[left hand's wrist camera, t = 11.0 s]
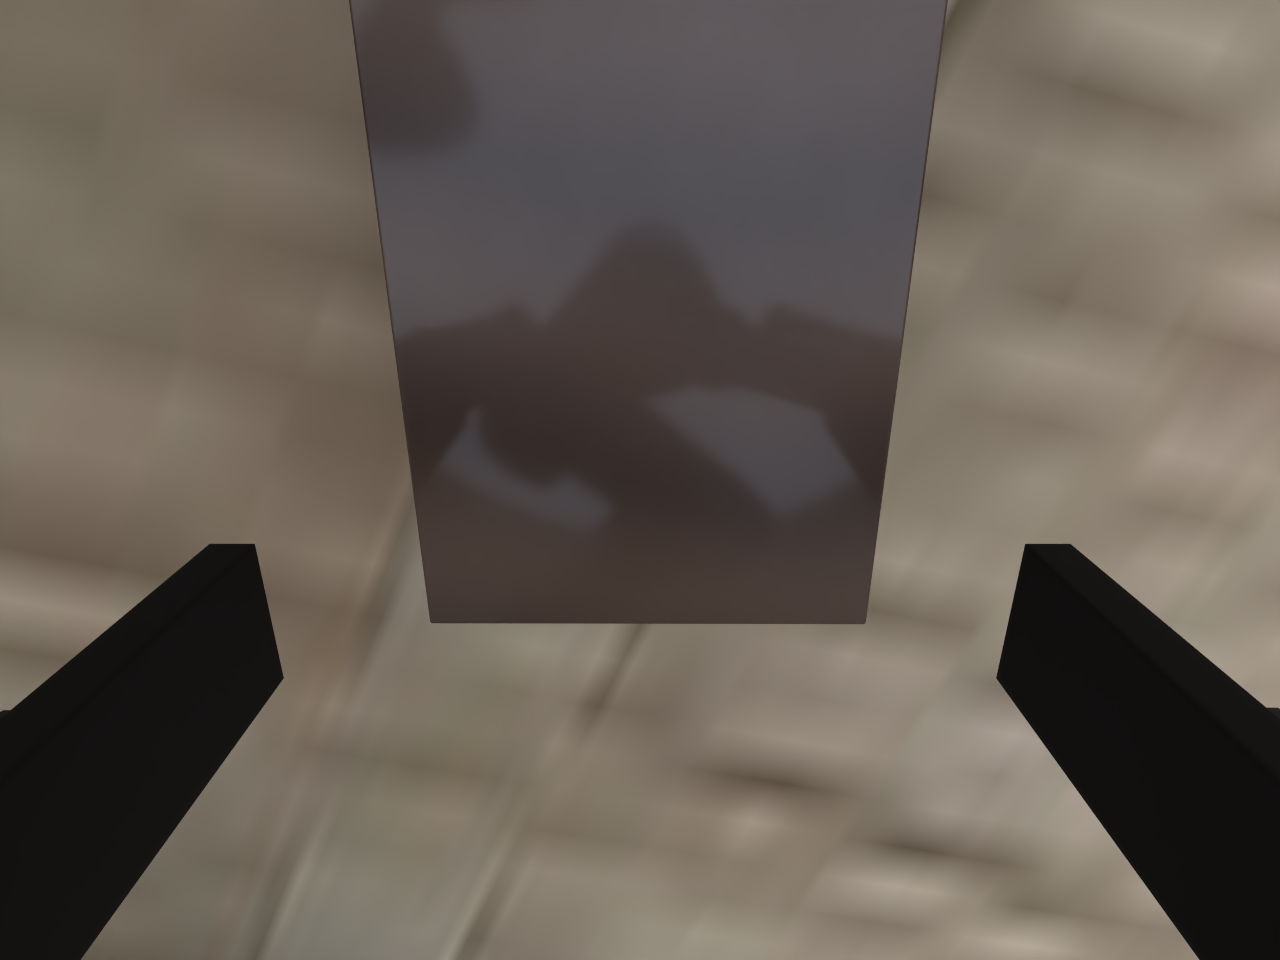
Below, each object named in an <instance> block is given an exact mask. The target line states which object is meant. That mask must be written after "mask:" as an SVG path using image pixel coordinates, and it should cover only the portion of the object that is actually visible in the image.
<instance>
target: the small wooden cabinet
mask: <svg viewBox="0 0 1280 960" xmlns="http://www.w3.org/2000/svg"><path fill="white" fill-rule="evenodd" d="M947 2H948V0H349V4H350V11H351V19H352V27H353V34H354V42H355V50H356V57H357V65H358V72H359V80H360V88H361V95H362V103H363V111H364V118H365V126H366V134H367V141H368V149H369V157H370V164H371V172H372V180H373V187H374V195H375V203H376V210H377V218H378V225H379V233H380V241H381V248H382V256H383V264H384V271H385V279H386V287H387V294H388V302H389V310H390V317H391V325H392V333H393V340H394V348H395V355H396V363H397V371H398V378H399V386H400V394H401V401H402V409H403V417H404V424H405V432H406V440H407V447H408V455H409V463H410V470H411V478H412V485H413V493H414V501H415V508H416V516H417V524H418V531H419V539H420V547H421V554H422V562H423V570H424V577H425V585H426V593H427V600H428V608H429V615H430V622H431V623H636V624H865V622H866V615H867V608H868V600H869V592H870V585H871V577H872V570H873V562H874V555H875V547H876V539H877V532H878V524H879V517H880V509H881V502H882V494H883V487H884V479H885V471H886V464H887V456H888V449H889V441H890V434H891V426H892V418H893V411H894V403H895V396H896V388H897V381H898V373H899V365H900V358H901V350H902V343H903V335H904V328H905V320H906V312H907V305H908V297H909V290H910V282H911V275H912V267H913V259H914V252H915V244H916V237H917V229H918V222H919V214H920V206H921V199H922V191H923V184H924V176H925V169H926V161H927V153H928V146H929V138H930V131H931V123H932V116H933V108H934V100H935V93H936V85H937V78H938V70H939V63H940V55H941V48H942V40H943V32H944V25H945V17H946V10H947Z"/></svg>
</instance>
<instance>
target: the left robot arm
mask: <svg viewBox="0 0 1280 960" xmlns="http://www.w3.org/2000/svg"><path fill="white" fill-rule="evenodd" d="M283 678H284V677H283V673H282V668H281V663H280V659H279V654H278V650H277V645H276V640H275V636H274V631H273V626H272V622H271V617H270V613H269V608H268V603H267V599H266V594H265V589H264V585H263V580H262V576H261V571H260V566H259V562H258V557H257V552H256V548H255V544H209V545H208V546H207V547H205V548H204V549H203V550H202V551H201V552H199V553H198V554H197V555H196V556H195V557H193V558H192V559H191V560H190V561H189V562H188V563H186V564H185V565H184V566H183V567H182V568H180V569H179V570H178V571H177V572H176V573H174V574H173V575H172V576H171V577H170V578H168V579H167V580H166V581H165V582H164V583H162V584H161V585H160V586H159V587H158V588H156V589H155V590H154V591H153V592H152V593H150V594H149V595H148V596H147V597H146V598H144V599H143V600H142V601H141V602H140V603H138V604H137V605H136V606H135V607H134V608H132V609H131V610H130V611H129V612H128V613H127V614H125V615H124V616H123V617H122V618H121V619H119V620H118V621H117V622H116V623H115V624H113V625H112V626H111V627H110V628H109V629H107V630H106V631H105V632H104V633H103V634H101V635H100V636H99V637H98V638H97V639H95V640H94V641H93V642H92V643H91V644H89V645H88V646H87V647H86V648H85V649H83V650H82V651H81V652H80V653H79V654H77V655H76V656H75V657H74V658H73V659H71V660H70V661H69V662H68V663H67V664H66V665H64V666H63V667H62V668H61V669H60V670H58V671H57V672H56V673H55V674H54V675H52V676H51V677H50V678H49V679H48V680H46V681H45V682H44V683H43V684H42V685H40V686H39V687H38V688H37V689H36V690H34V691H33V692H32V693H31V694H30V695H28V696H27V697H26V698H25V699H24V700H22V701H21V702H20V703H19V704H18V705H16V706H15V707H14V708H13V709H12V710H3V711H1V712H0V960H81V958H82V957H83V956H84V954H85V953H86V951H87V950H88V949H89V947H90V946H91V944H92V943H93V942H94V940H95V939H96V938H97V936H98V935H99V933H100V932H101V931H102V929H103V928H104V926H105V925H106V924H107V922H108V921H109V920H110V918H111V917H112V915H113V914H114V913H115V911H116V910H117V908H118V907H119V906H120V904H121V903H122V902H123V900H124V899H125V897H126V896H127V895H128V893H129V892H130V890H131V889H132V888H133V886H134V885H135V883H136V882H137V881H138V879H139V878H140V877H141V875H142V874H143V872H144V871H145V870H146V868H147V867H148V865H149V864H150V863H151V861H152V860H153V859H154V857H155V856H156V854H157V853H158V852H159V850H160V849H161V847H162V846H163V845H164V843H165V842H166V841H167V839H168V838H169V836H170V835H171V834H172V832H173V831H174V829H175V828H176V827H177V825H178V824H179V823H180V821H181V820H182V818H183V817H184V816H185V814H186V813H187V811H188V810H189V809H190V807H191V806H192V804H193V803H194V802H195V800H196V799H197V798H198V796H199V795H200V793H201V792H202V791H203V789H204V788H205V786H206V785H207V784H208V782H209V781H210V780H211V778H212V777H213V775H214V774H215V773H216V771H217V770H218V768H219V767H220V766H221V764H222V763H223V762H224V760H225V759H226V757H227V756H228V755H229V753H230V752H231V750H232V749H233V748H234V746H235V745H236V744H237V742H238V741H239V739H240V738H241V737H242V735H243V734H244V732H245V731H246V730H247V728H248V727H249V725H250V724H251V723H252V721H253V720H254V719H255V717H256V716H257V714H258V713H259V712H260V710H261V709H262V707H263V706H264V705H265V703H266V702H267V701H268V699H269V698H270V696H271V695H272V694H273V692H274V691H275V689H276V688H277V687H278V685H279V684H280V683H281V681H282V680H283ZM996 678H997V680H998V681H999V683H1000V684H1001V685H1002V687H1003V688H1004V689H1005V691H1006V692H1007V694H1008V695H1009V696H1010V698H1011V699H1012V701H1013V702H1014V703H1015V705H1016V706H1017V707H1018V709H1019V710H1020V712H1021V713H1022V714H1023V716H1024V717H1025V719H1026V720H1027V721H1028V723H1029V724H1030V725H1031V727H1032V728H1033V730H1034V731H1035V732H1036V734H1037V735H1038V737H1039V738H1040V739H1041V741H1042V742H1043V744H1044V745H1045V746H1046V748H1047V749H1048V750H1049V752H1050V753H1051V755H1052V756H1053V757H1054V759H1055V760H1056V762H1057V763H1058V764H1059V766H1060V767H1061V768H1062V770H1063V771H1064V773H1065V774H1066V775H1067V777H1068V778H1069V780H1070V781H1071V782H1072V784H1073V785H1074V786H1075V788H1076V789H1077V791H1078V792H1079V793H1080V795H1081V796H1082V798H1083V799H1084V800H1085V802H1086V803H1087V804H1088V806H1089V807H1090V809H1091V810H1092V811H1093V813H1094V814H1095V816H1096V817H1097V818H1098V820H1099V821H1100V823H1101V824H1102V825H1103V827H1104V828H1105V829H1106V831H1107V832H1108V834H1109V835H1110V836H1111V838H1112V839H1113V841H1114V842H1115V843H1116V845H1117V846H1118V847H1119V849H1120V850H1121V852H1122V853H1123V854H1124V856H1125V857H1126V859H1127V860H1128V861H1129V863H1130V864H1131V865H1132V867H1133V868H1134V870H1135V871H1136V872H1137V874H1138V875H1139V877H1140V878H1141V879H1142V881H1143V882H1144V883H1145V885H1146V886H1147V888H1148V889H1149V890H1150V892H1151V893H1152V895H1153V896H1154V897H1155V899H1156V900H1157V902H1158V903H1159V904H1160V906H1161V907H1162V908H1163V910H1164V911H1165V913H1166V914H1167V915H1168V917H1169V918H1170V920H1171V921H1172V922H1173V924H1174V925H1175V926H1176V928H1177V929H1178V931H1179V932H1180V933H1181V935H1182V936H1183V938H1184V939H1185V940H1186V942H1187V943H1188V944H1189V946H1190V947H1191V949H1192V950H1193V951H1194V953H1195V954H1196V956H1197V957H1198V958H1199V960H1280V709H1279V708H1266V707H1265V706H1264V705H1262V704H1261V703H1260V702H1259V701H1258V700H1256V699H1255V698H1254V697H1253V696H1252V695H1250V694H1249V693H1248V692H1247V691H1246V690H1244V689H1243V688H1242V687H1241V686H1240V685H1238V684H1237V683H1236V682H1235V681H1234V680H1232V679H1231V678H1230V677H1229V676H1228V675H1226V674H1225V673H1224V672H1223V671H1222V670H1220V669H1219V668H1218V667H1217V666H1216V665H1214V664H1213V663H1212V662H1211V661H1210V660H1209V659H1207V658H1206V657H1205V656H1204V655H1203V654H1201V653H1200V652H1199V651H1198V650H1197V649H1195V648H1194V647H1193V646H1192V645H1191V644H1189V643H1188V642H1187V641H1186V640H1185V639H1183V638H1182V637H1181V636H1180V635H1179V634H1177V633H1176V632H1175V631H1174V630H1173V629H1171V628H1170V627H1169V626H1168V625H1167V624H1165V623H1164V622H1163V621H1162V620H1161V619H1159V618H1158V617H1157V616H1156V615H1155V614H1153V613H1152V612H1151V611H1150V610H1149V609H1148V608H1146V607H1145V606H1144V605H1143V604H1142V603H1140V602H1139V601H1138V600H1137V599H1136V598H1134V597H1133V596H1132V595H1131V594H1130V593H1128V592H1127V591H1126V590H1125V589H1124V588H1122V587H1121V586H1120V585H1119V584H1118V583H1116V582H1115V581H1114V580H1113V579H1112V578H1110V577H1109V576H1108V575H1107V574H1106V573H1104V572H1103V571H1102V570H1101V569H1100V568H1098V567H1097V566H1096V565H1095V564H1094V563H1092V562H1091V561H1090V560H1089V559H1088V558H1087V557H1085V556H1084V555H1083V554H1082V553H1081V552H1079V551H1078V550H1077V549H1076V548H1075V547H1073V546H1072V545H1071V544H1025V548H1024V552H1023V557H1022V562H1021V566H1020V571H1019V576H1018V580H1017V585H1016V589H1015V594H1014V599H1013V603H1012V608H1011V613H1010V617H1009V622H1008V626H1007V631H1006V636H1005V640H1004V645H1003V650H1002V654H1001V659H1000V663H999V668H998V673H997V677H996Z"/></svg>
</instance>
